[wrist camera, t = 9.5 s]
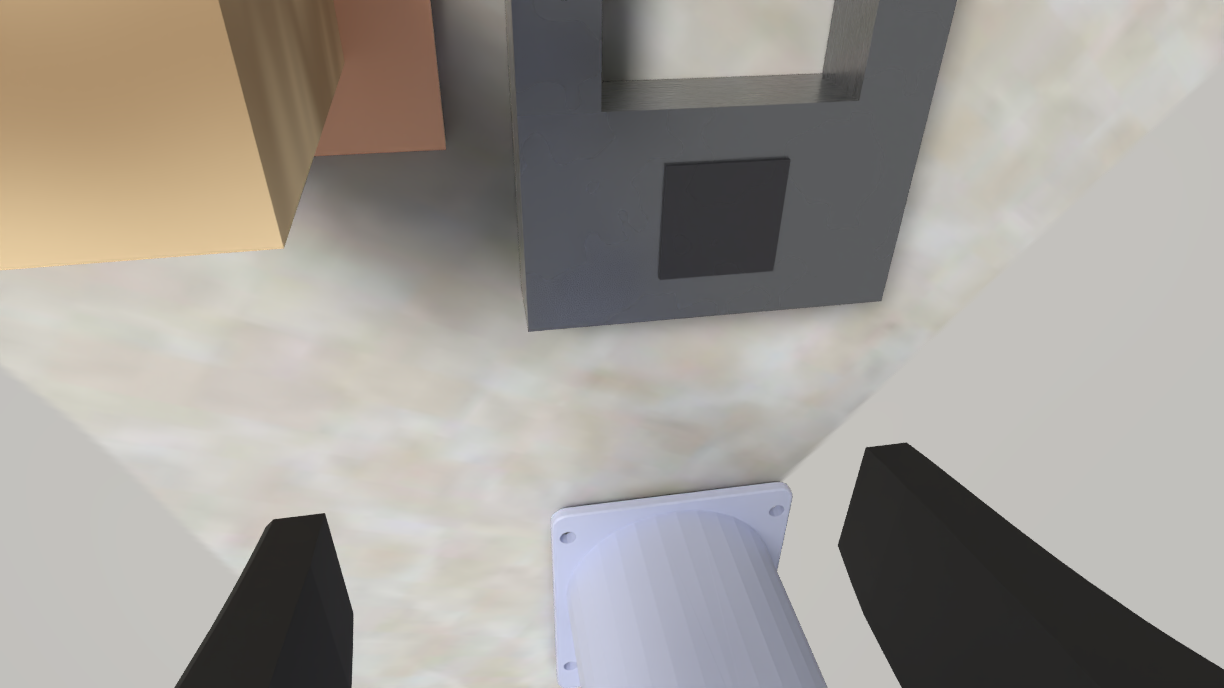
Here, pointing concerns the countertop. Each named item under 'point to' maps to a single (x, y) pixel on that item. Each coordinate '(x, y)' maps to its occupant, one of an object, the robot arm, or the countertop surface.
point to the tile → (385, 81)
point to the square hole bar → (713, 170)
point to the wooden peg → (158, 125)
